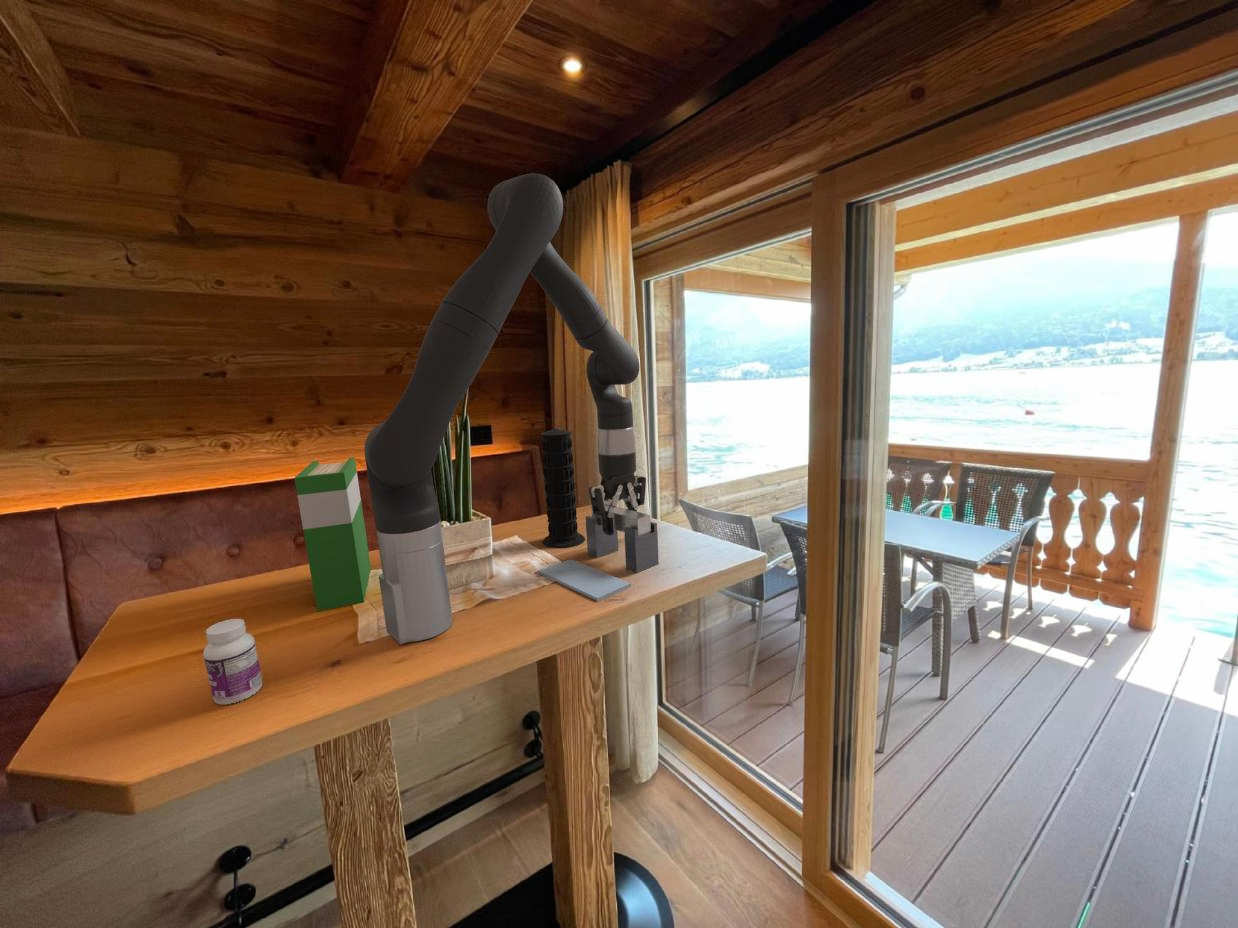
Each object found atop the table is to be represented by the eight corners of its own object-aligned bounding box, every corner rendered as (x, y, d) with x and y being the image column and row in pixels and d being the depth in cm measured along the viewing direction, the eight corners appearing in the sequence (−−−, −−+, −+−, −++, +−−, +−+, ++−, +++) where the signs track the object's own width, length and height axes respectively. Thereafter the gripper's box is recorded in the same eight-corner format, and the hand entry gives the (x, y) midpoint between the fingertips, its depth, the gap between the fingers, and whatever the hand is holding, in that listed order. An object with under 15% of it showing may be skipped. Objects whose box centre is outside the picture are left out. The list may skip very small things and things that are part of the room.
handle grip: (552, 532, 127) (534, 546, 117) (544, 426, 122) (525, 431, 112) (591, 534, 124) (575, 549, 114) (584, 425, 119) (567, 431, 109)
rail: (638, 536, 100) (637, 519, 99) (592, 522, 110) (591, 506, 109) (650, 531, 102) (650, 515, 101) (604, 518, 112) (603, 503, 112)
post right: (636, 573, 100) (634, 530, 98) (626, 569, 102) (624, 527, 100) (658, 563, 104) (657, 523, 102) (647, 560, 106) (646, 520, 104)
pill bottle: (206, 697, 67) (191, 629, 65) (252, 676, 71) (239, 612, 69) (223, 711, 64) (208, 640, 62) (270, 688, 68) (257, 621, 66)
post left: (596, 558, 109) (594, 519, 107) (587, 554, 111) (585, 516, 109) (618, 550, 113) (616, 512, 111) (609, 547, 115) (607, 509, 113)
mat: (597, 601, 89) (597, 597, 89) (538, 573, 102) (538, 570, 102) (630, 586, 94) (630, 583, 94) (571, 561, 107) (570, 559, 107)
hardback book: (331, 575, 106) (313, 461, 102) (371, 568, 109) (354, 457, 104) (317, 611, 90) (294, 477, 86) (363, 602, 93) (344, 472, 88)
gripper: (601, 457, 95) (606, 543, 99) (655, 446, 105) (657, 525, 108) (576, 453, 101) (582, 535, 104) (629, 443, 110) (632, 519, 114)
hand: (620, 530), depth 106 cm, fingers open, 5 cm apart
